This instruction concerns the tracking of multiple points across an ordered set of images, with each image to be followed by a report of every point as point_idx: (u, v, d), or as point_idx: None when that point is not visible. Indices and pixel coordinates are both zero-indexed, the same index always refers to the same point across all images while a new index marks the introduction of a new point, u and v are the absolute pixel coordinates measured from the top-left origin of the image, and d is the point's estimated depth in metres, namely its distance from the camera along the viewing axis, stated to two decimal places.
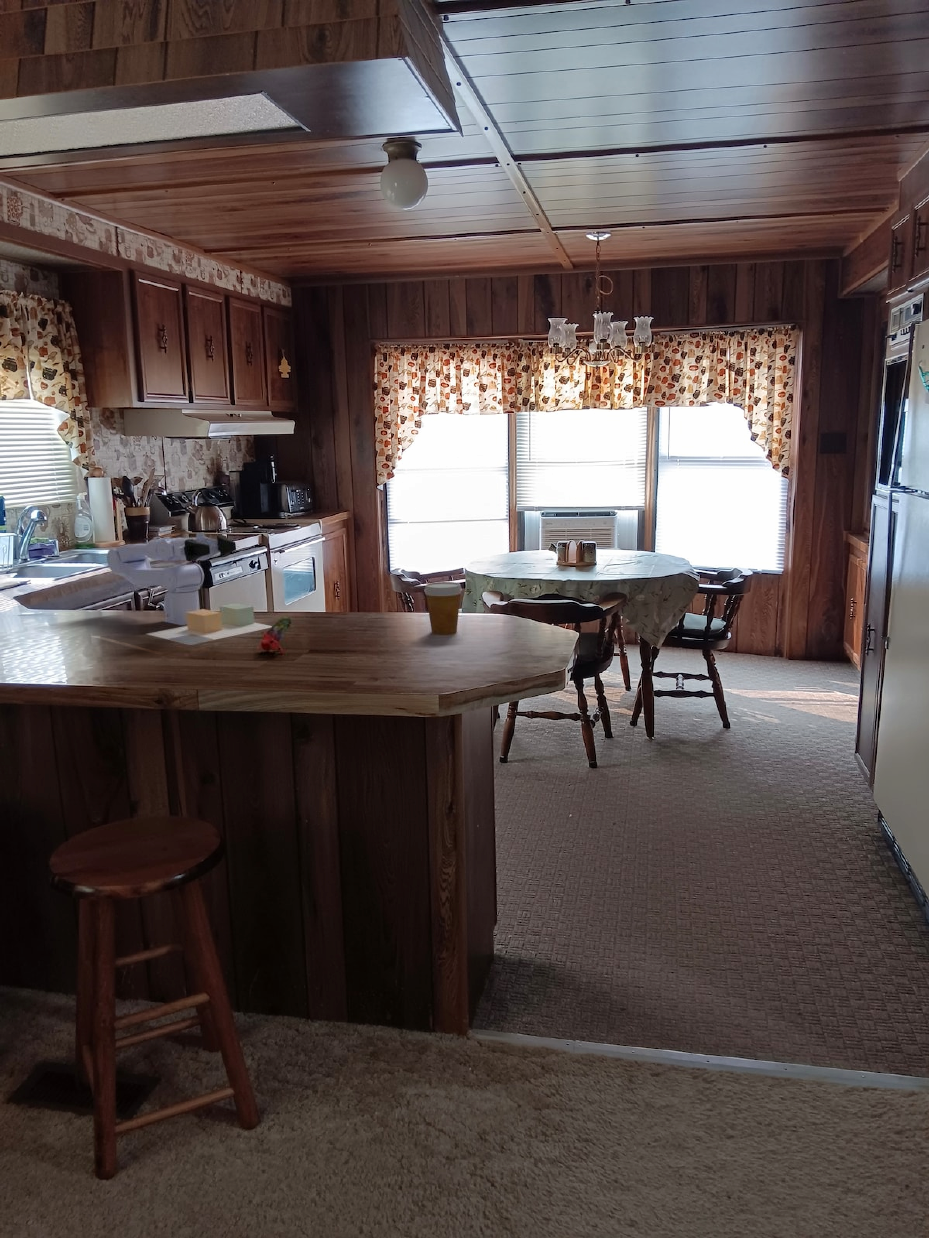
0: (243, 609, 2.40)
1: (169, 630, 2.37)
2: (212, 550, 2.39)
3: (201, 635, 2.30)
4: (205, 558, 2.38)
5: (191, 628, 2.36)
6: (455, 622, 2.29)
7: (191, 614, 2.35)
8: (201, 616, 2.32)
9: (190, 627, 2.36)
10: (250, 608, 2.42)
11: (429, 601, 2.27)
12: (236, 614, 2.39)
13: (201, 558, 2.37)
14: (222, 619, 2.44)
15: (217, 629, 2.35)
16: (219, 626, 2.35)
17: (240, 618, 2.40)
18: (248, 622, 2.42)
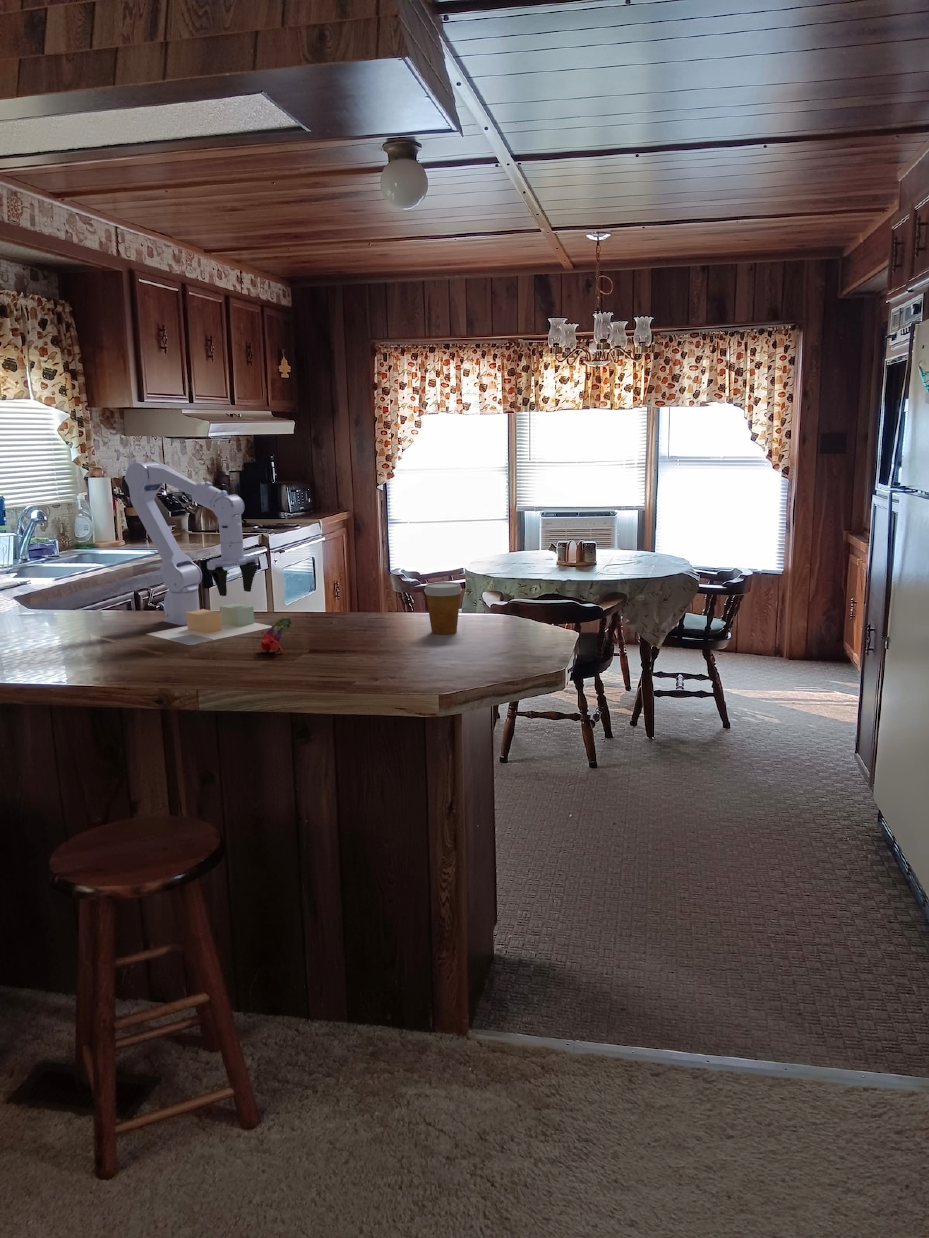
0: (243, 609, 2.40)
1: (169, 630, 2.37)
2: None
3: (201, 635, 2.30)
4: None
5: (191, 628, 2.36)
6: (455, 622, 2.29)
7: (191, 614, 2.35)
8: (201, 616, 2.32)
9: (190, 627, 2.36)
10: (250, 608, 2.42)
11: (429, 601, 2.27)
12: (236, 614, 2.39)
13: None
14: (222, 619, 2.44)
15: (217, 629, 2.35)
16: (219, 626, 2.35)
17: (240, 618, 2.40)
18: (248, 622, 2.42)
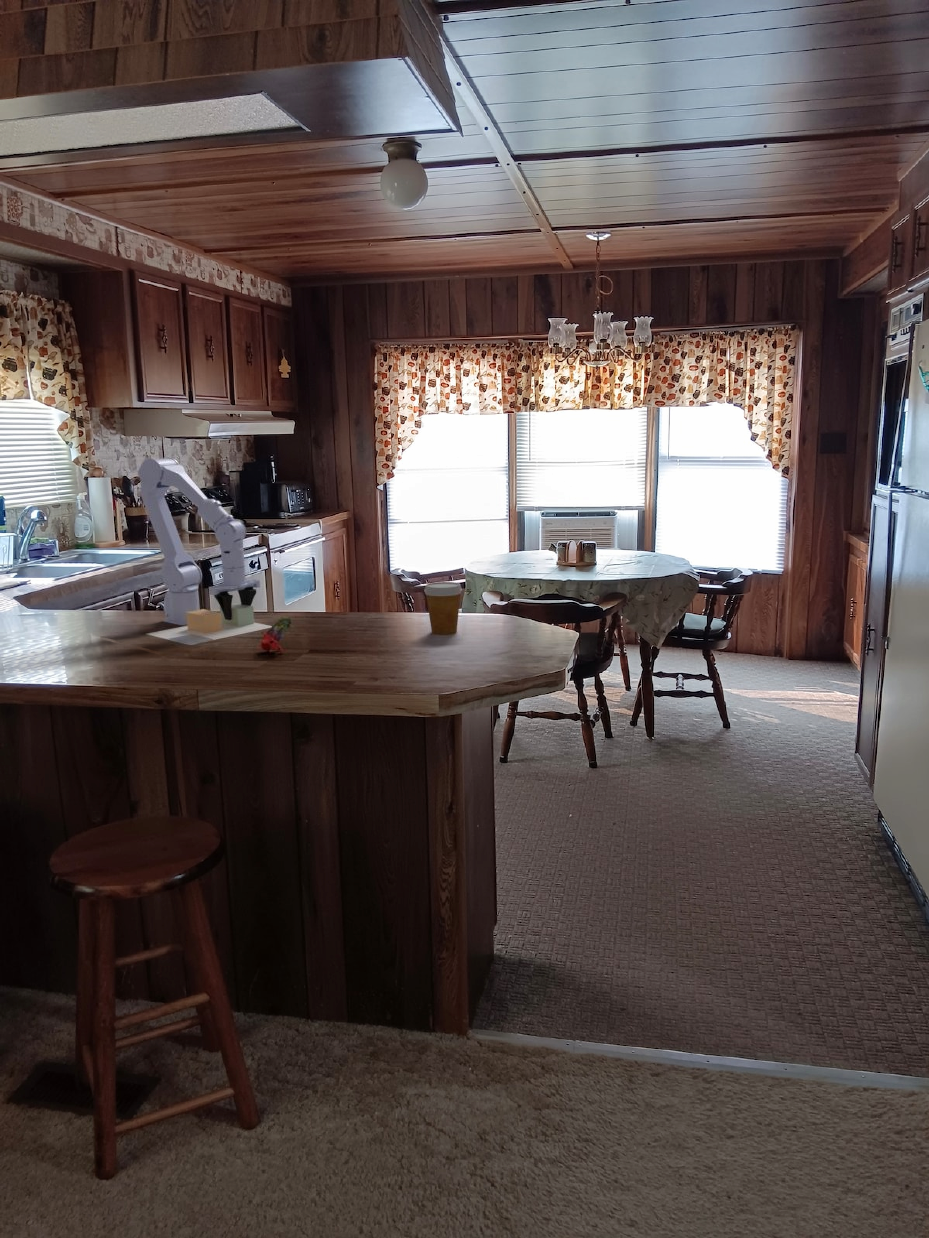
0: (243, 609, 2.40)
1: (169, 630, 2.37)
2: None
3: (201, 635, 2.30)
4: None
5: (191, 628, 2.36)
6: (455, 622, 2.29)
7: (191, 614, 2.35)
8: (201, 616, 2.32)
9: (190, 627, 2.36)
10: (250, 608, 2.42)
11: (429, 601, 2.27)
12: (236, 614, 2.39)
13: None
14: (222, 619, 2.44)
15: (217, 629, 2.35)
16: (219, 626, 2.35)
17: (240, 618, 2.40)
18: (248, 622, 2.42)
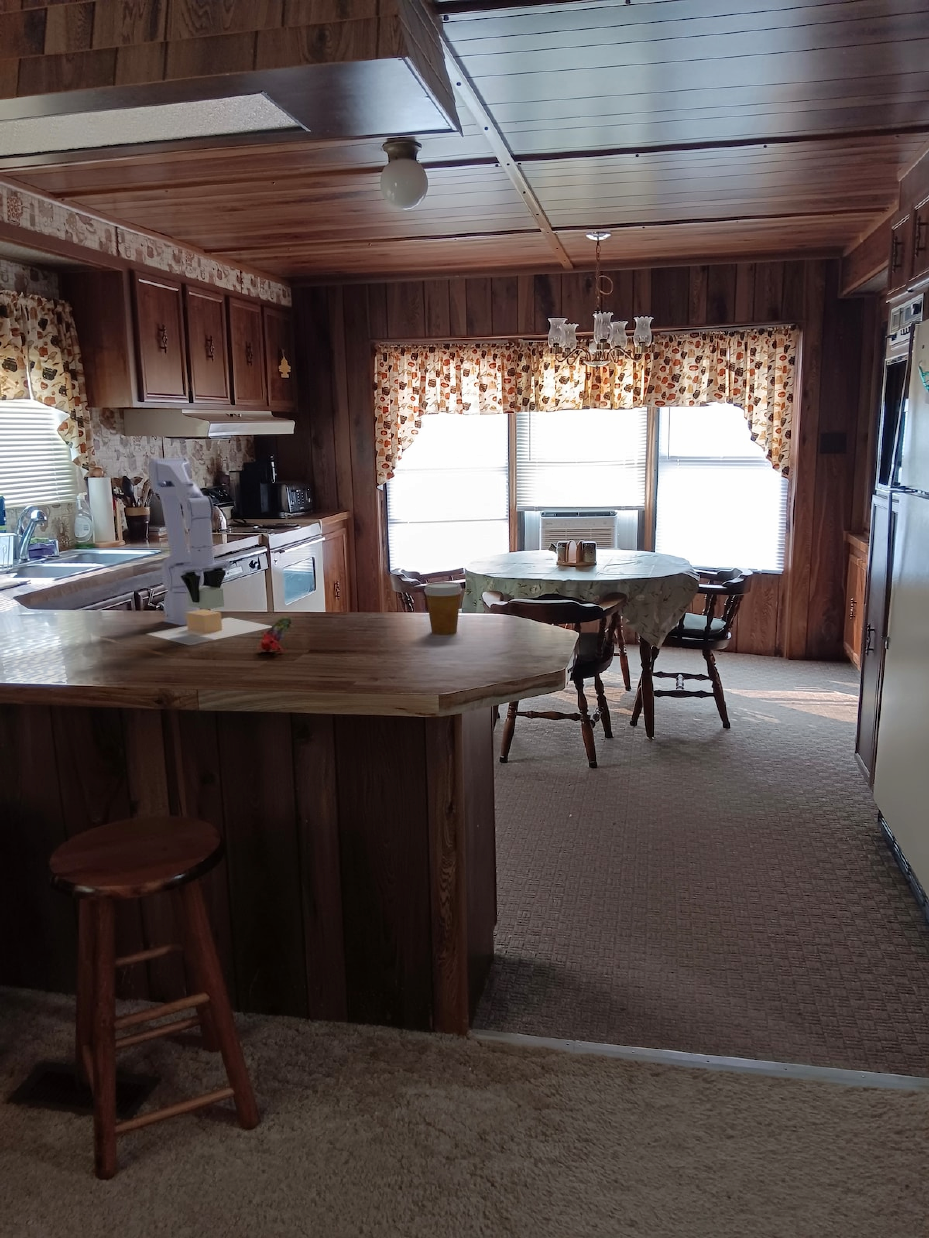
0: (212, 591, 2.27)
1: (169, 630, 2.37)
2: None
3: (201, 635, 2.30)
4: None
5: (191, 628, 2.36)
6: (455, 622, 2.29)
7: (191, 614, 2.35)
8: (201, 616, 2.32)
9: (190, 627, 2.36)
10: (219, 590, 2.28)
11: (429, 601, 2.27)
12: (205, 597, 2.26)
13: None
14: (190, 602, 2.30)
15: (217, 629, 2.35)
16: (219, 626, 2.35)
17: (208, 600, 2.26)
18: (217, 605, 2.28)
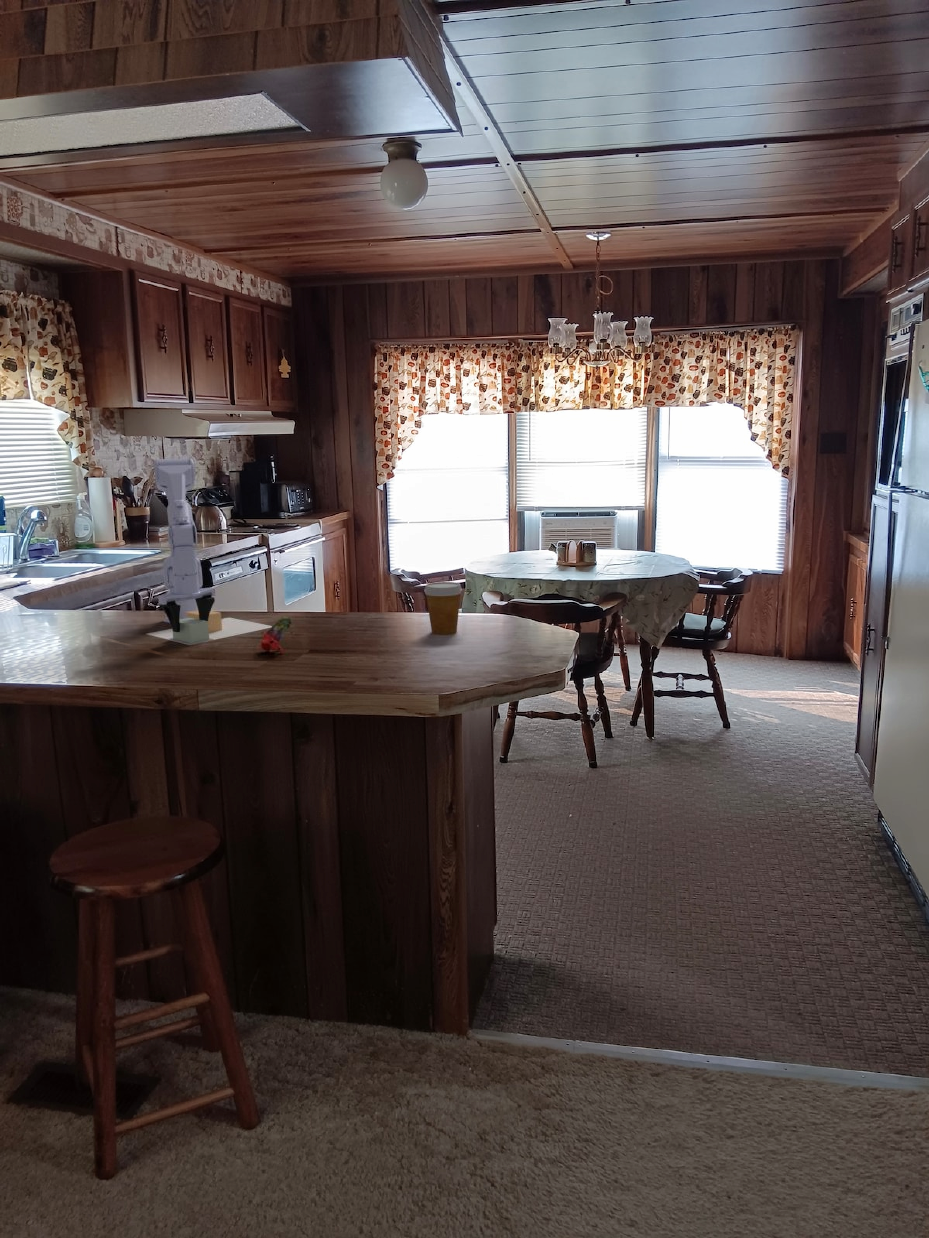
0: (196, 624, 2.22)
1: (169, 630, 2.37)
2: None
3: None
4: None
5: None
6: (455, 622, 2.29)
7: (191, 614, 2.35)
8: None
9: None
10: (204, 623, 2.23)
11: (429, 601, 2.27)
12: (189, 630, 2.21)
13: None
14: (174, 635, 2.26)
15: (217, 629, 2.35)
16: (219, 626, 2.35)
17: (193, 634, 2.21)
18: (202, 638, 2.23)
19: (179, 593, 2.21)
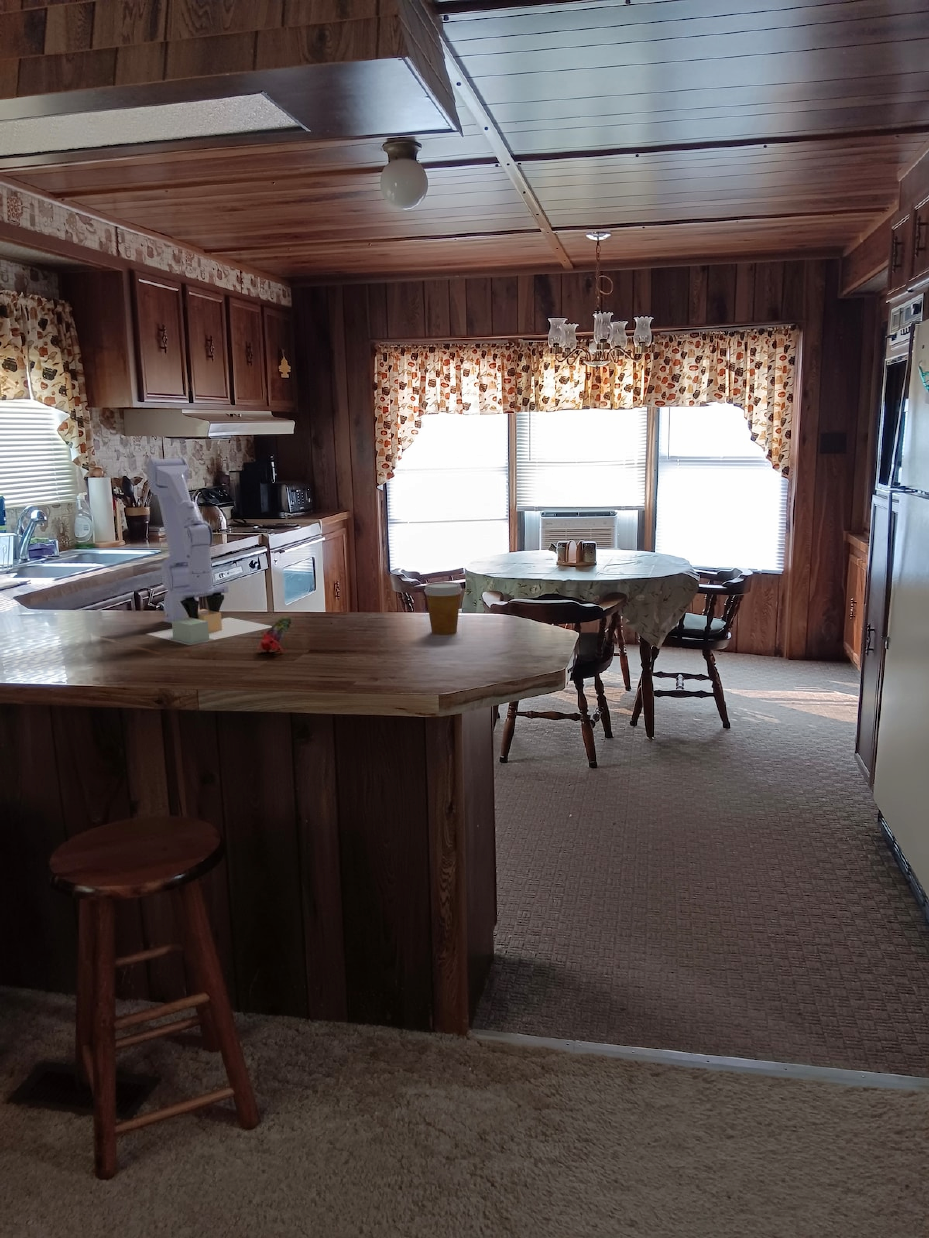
0: (196, 624, 2.22)
1: (169, 630, 2.37)
2: None
3: None
4: None
5: None
6: (455, 622, 2.29)
7: None
8: (201, 616, 2.32)
9: None
10: (204, 623, 2.23)
11: (429, 601, 2.27)
12: (189, 630, 2.21)
13: None
14: (174, 635, 2.26)
15: (217, 629, 2.35)
16: (219, 626, 2.35)
17: (193, 634, 2.21)
18: (202, 638, 2.23)
19: (194, 590, 2.32)
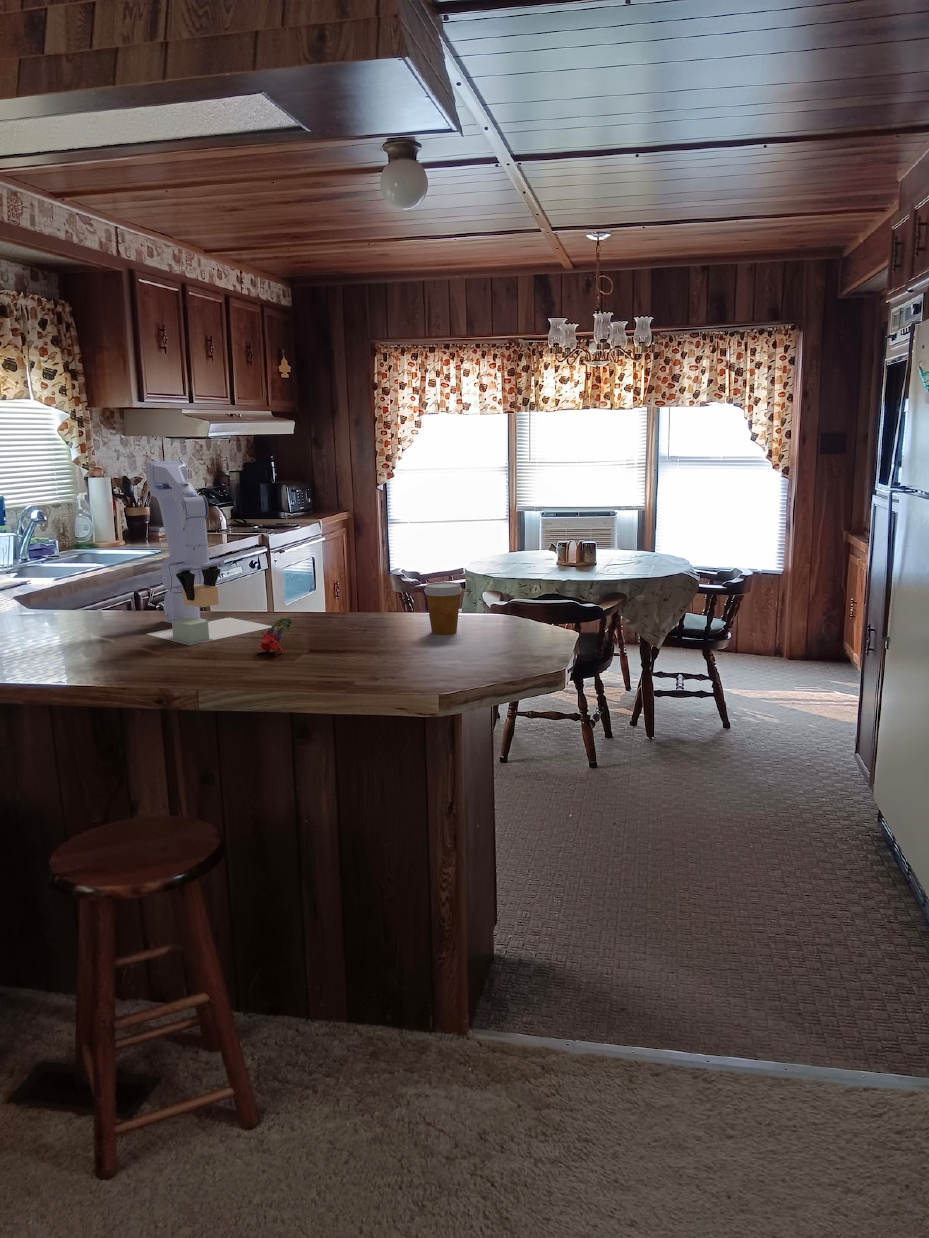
0: (196, 624, 2.22)
1: (169, 630, 2.37)
2: None
3: None
4: None
5: (187, 603, 2.33)
6: (455, 622, 2.29)
7: None
8: (197, 590, 2.29)
9: (186, 602, 2.33)
10: (204, 623, 2.23)
11: (429, 601, 2.27)
12: (189, 630, 2.21)
13: None
14: (174, 635, 2.26)
15: (213, 603, 2.32)
16: (215, 600, 2.32)
17: (193, 634, 2.21)
18: (202, 638, 2.23)
19: (190, 563, 2.29)
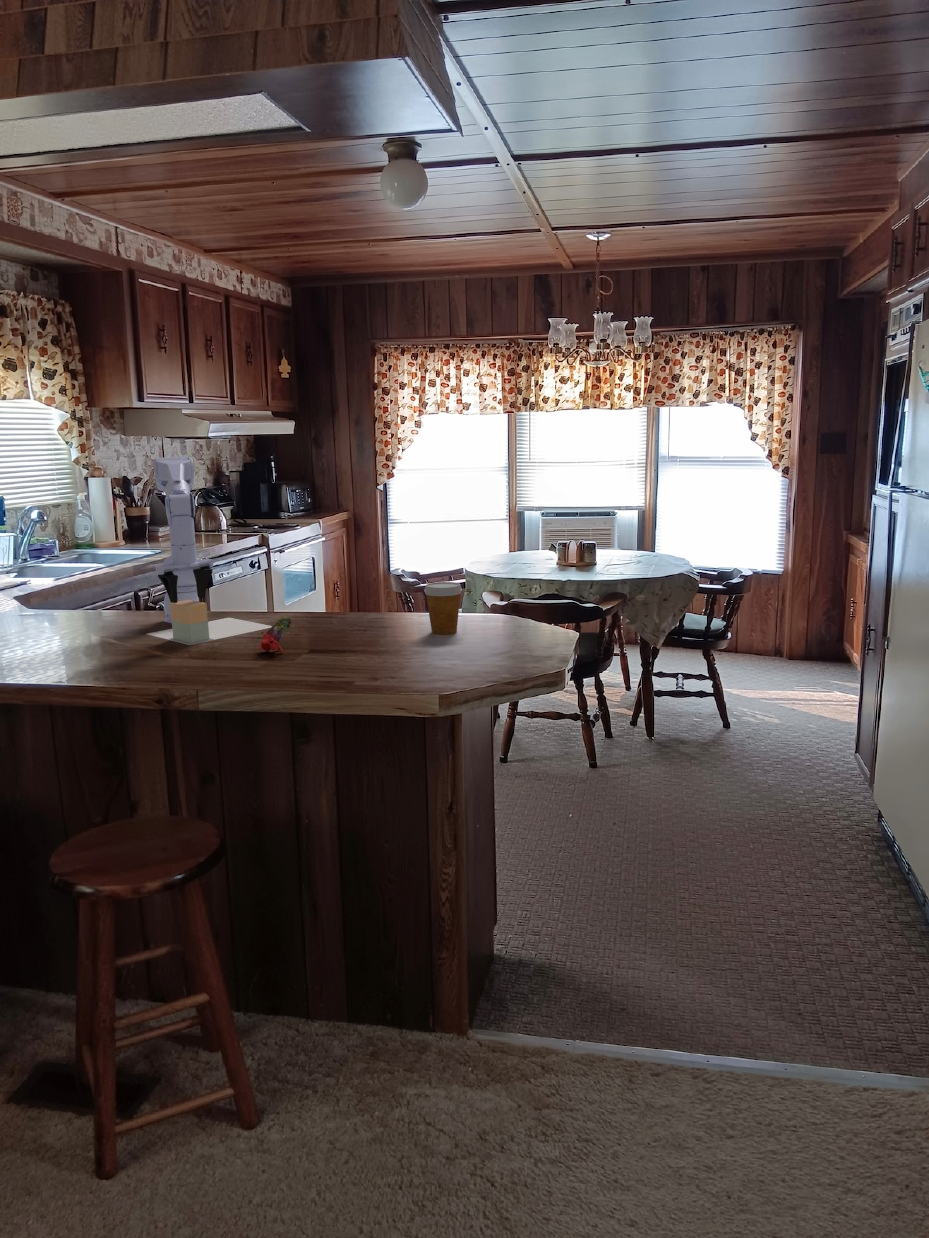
0: (196, 624, 2.22)
1: (169, 630, 2.37)
2: None
3: None
4: None
5: (175, 619, 2.24)
6: (455, 622, 2.29)
7: (175, 605, 2.23)
8: (185, 607, 2.20)
9: (174, 619, 2.25)
10: (204, 623, 2.23)
11: (429, 601, 2.27)
12: (189, 630, 2.21)
13: None
14: (175, 635, 2.26)
15: (202, 620, 2.23)
16: (204, 617, 2.23)
17: (193, 634, 2.21)
18: (202, 638, 2.23)
19: (176, 563, 2.19)
